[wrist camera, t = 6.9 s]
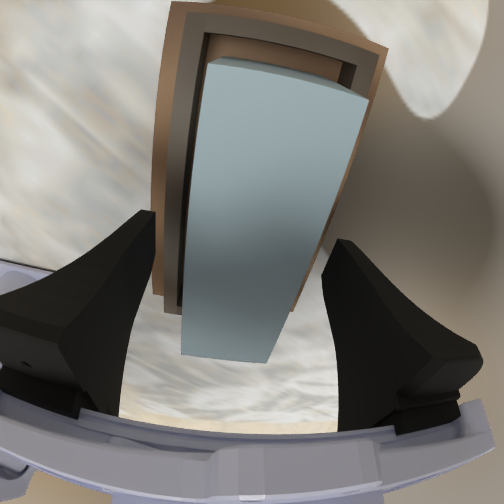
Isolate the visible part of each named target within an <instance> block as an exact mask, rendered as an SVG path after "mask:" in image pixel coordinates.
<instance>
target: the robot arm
mask: <svg viewBox="0 0 504 504" xmlns="http://www.w3.org/2000/svg"><path fill="white" fill-rule="evenodd" d="M155 254H156V212H155V211H147V210H140V211H139V212H137V213H136V214H135V215H134V216H132V217H131V218H130V219H129V220H128V221H126V222H125V223H124V224H123V225H122V226H120V227H119V228H118V229H117V230H116V231H114V232H113V233H112V234H111V235H110V236H108V237H107V238H106V239H104V240H103V241H102V242H101V243H99V244H98V245H97V246H95V247H94V248H93V249H91V250H90V251H88V252H87V253H86V254H84V255H83V256H81V257H79V258H78V259H76V260H75V261H73V262H72V263H70V264H68V265H66V266H65V267H63V268H61V269H59V270H57V271H55V272H49V271H45V270H40V269H35V268H31V267H26V266H22V265H17V264H13V263H9V262H5V261H0V502H1V501H6V500H11V499H15V498H19V497H22V496H24V495H25V493H26V490H27V488H28V485H29V482H30V480H31V478H32V476H33V474H34V473H35V472H36V471H37V469H38V470H40V471H42V472H45V473H47V474H50V475H52V476H55V477H57V478H60V479H63V480H66V481H68V482H71V483H74V484H77V485H80V486H83V487H86V488H89V489H92V490H96V491H99V492H103V493H107V494H110V495H112V503H111V504H384V498H383V494H384V493H388V492H391V491H394V490H398V489H401V488H404V487H408V486H411V485H414V484H417V483H420V482H422V481H425V480H428V479H431V478H433V477H436V476H439V475H441V474H444V473H446V472H449V471H451V470H454V469H456V468H458V467H460V466H462V465H464V464H466V463H468V462H470V461H473V460H474V459H476V458H478V457H480V456H482V455H484V454H486V453H488V452H489V451H491V450H493V449H494V448H495V447H496V446H495V442H494V439H493V435H492V432H491V429H490V425H489V423H488V419H487V416H486V413H485V410H484V407H483V404H482V401H481V399H476V400H473V401H469V402H466V403H463V404H461V405H459V406H458V403H457V400H458V399H459V398H460V393H459V389H460V388H461V387H462V386H463V385H465V384H466V383H467V382H468V381H469V380H471V379H472V378H473V377H474V376H475V375H476V374H477V373H478V372H479V370H480V369H481V367H482V365H483V358H482V356H481V354H480V352H479V350H478V348H477V346H476V345H475V344H473V343H472V342H470V341H468V340H466V339H464V338H462V337H461V336H459V335H457V334H455V333H453V332H452V331H451V330H449V329H447V328H446V327H444V326H443V325H441V324H440V323H438V322H437V321H435V320H434V319H433V318H432V317H430V316H429V315H427V314H426V313H425V312H423V311H422V310H421V309H420V308H418V307H417V306H416V305H415V304H414V303H413V302H412V301H411V300H409V299H408V298H407V297H406V296H405V295H404V294H403V293H402V292H400V290H399V289H398V288H396V286H394V285H393V284H392V283H391V282H390V281H389V280H388V278H387V277H385V276H384V274H383V273H382V272H381V271H380V270H379V269H378V268H377V267H376V266H375V265H374V264H373V263H372V262H371V261H370V259H369V258H368V257H367V256H366V255H365V254H364V253H363V252H362V251H361V250H360V249H359V248H358V247H357V246H356V245H355V244H354V243H353V242H351V241H349V240H343V239H337V241H336V243H335V246H334V248H333V250H332V253H331V255H330V257H329V259H328V262H327V264H326V266H325V268H324V270H323V273H322V275H321V278H322V289H323V297H324V302H325V306H326V310H327V314H328V318H329V323H330V327H331V331H332V335H333V340H334V345H335V350H336V360H337V371H338V393H339V411H338V430H337V432H331V433H316V434H282V435H272V434H238V433H222V432H210V431H200V430H191V429H183V428H176V427H169V426H162V425H156V424H150V423H145V422H139V421H134V420H129V419H125V418H120V417H118V415H119V404H120V394H121V386H122V378H123V371H124V365H125V359H126V354H127V348H128V343H129V339H130V334H131V329H132V326H133V322H134V319H135V316H136V313H137V311H138V308H139V305H140V302H141V299H142V297H143V294H144V291H145V288H146V286H147V283H148V280H149V278H150V275H151V271H152V267H153V263H154V259H155Z"/></svg>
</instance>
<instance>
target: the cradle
mask: <svg viewBox="0 0 504 504" xmlns="http://www.w3.org/2000/svg"><path fill="white" fill-rule="evenodd" d="M388 49H389V48H386V47H384V46H382V45H379V44H377V43H374V42H372V41H369V40H366V39H364V38H361V37H358V36H356V35H353V34H350V33H347V32H344V31H341V30H337V29H335V28H332V27H328V26H325V25H321V24H318V23H315V22H311V21H307V20H303V19H299V18H295V17H291V16H286V15H282V14H277V13H273V12H268V11H262V10H257V9H250V8H244V7H237V6H229V5H220V4H211V3H198V2H178V1H171V6H170V12H169V17H168V22H167V28H166V34H165V40H164V46H163V53H162V60H161V67H160V75H159V84H158V93H157V102H156V113H155V125H154V139H153V155H152V179H151V211H155V212H156V254H155V259H154V263H153V267H152V287H153V294H155V295H161V296H164V312H165V313H171V314H178V315H182V301H183V280H184V263H185V248H186V235H187V222H188V211H189V200H190V190H191V180H192V171H193V162H194V154H195V146H196V138H197V130H198V123H199V116H200V109H201V102H202V96H203V89H204V83H205V77H206V71H207V66H208V63H210V62H212V61H214V60H216V59H218V58H221V57H223V56H229V57H236V58H243V59H249V60H255V61H260V62H265V63H270V64H275V65H280V66H285V67H289V68H293V69H298V70H302V71H306V72H309V73H313V74H317V75H321V76H323V77H325V78H327V79H329V80H331V81H334V82H336V83H338V84H340V85H342V86H344V87H346V88H348V89H349V90H351V91H353V92H355V93H357V94H359V95H361V96H363V97H364V98H366V99H368V100H369V102H368V105H367V108H366V112H365V115H364V118H363V121H362V124H361V127H360V130H359V133H358V136H357V139H356V142H355V145H354V148H353V151H352V154H351V157H350V160H349V162H348V165H347V168H346V171H345V174H344V176H343V179H342V182H341V185H340V188H339V190H338V193H337V196H336V198H335V201H334V204H333V206H332V209H331V212H330V214H329V217H328V220H327V222H326V225H325V227H324V230H323V232H322V235H321V238H320V240H319V243H318V245H317V248H316V250H315V253H314V255H313V258H312V260H311V262H310V265H309V267H308V270H307V272H306V275H305V277H304V279H303V282H302V284H301V287H300V289H299V291H298V294H297V296H296V298H295V301H294V303H293V305H292V308H291V310H290V312H293V310H294V308H295V305H296V303H297V301H298V299H299V296H300V294H301V292H302V289H303V287H304V285H305V282H306V280H307V278H308V275H309V273H310V271H311V268H312V266H313V264H314V261H315V259H316V256H317V254H318V251H319V249H320V247H321V244H322V242H323V239H324V236H325V234H326V232H327V229H328V226H329V224H330V221H331V219H332V216H333V214H334V211H335V209H336V206H337V203H338V201H339V198H340V195H341V193H342V190H343V187H344V184H345V182H346V179H347V176H348V174H349V171H350V168H351V165H352V162H353V160H354V157H355V154H356V151H357V148H358V145H359V142H360V140H361V137H362V134H363V131H364V128H365V125H366V122H367V119H368V116H369V112H370V109H371V106H372V103H373V100H374V97H375V93H376V90H377V87H378V83H379V80H380V77H381V74H382V70H383V67H384V63H385V60H386V56H387V53H388Z"/></svg>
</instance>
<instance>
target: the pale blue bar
mask: <svg viewBox="0 0 504 504" xmlns="http://www.w3.org/2000/svg"><path fill="white" fill-rule="evenodd" d="M368 102H369V100H368V99H366V98H364V97H363V96H361V95H359V94H357V93H355V92H353V91H351V90H349V89H348V88H346V87H344V86H342V85H340V84H338V83H336V82H334V81H331V80H329V79H327V78H325V77H323V76H321V75H317V74H313V73H309V72H306V71H302V70H298V69H293V68H289V67H285V66H280V65H275V64H270V63H265V62H260V61H255V60H249V59H243V58H236V57H229V56H223V57H221V58H218V59H216V60H214V61H212V62H210V63H208V66H207V71H206V77H205V83H204V89H203V96H202V102H201V109H200V116H199V123H198V130H197V138H196V146H195V154H194V162H193V171H192V180H191V190H190V200H189V211H188V222H187V235H186V248H185V263H184V280H183V301H182V331H181V355H189V356H196V357H204V358H212V359H221V360H230V361H241V362H252V363H265V364H266V363H267V361H268V359H269V356H270V354H271V352H272V350H273V348H274V346H275V343H276V341H277V339H278V337H279V335H280V332H281V330H282V328H283V326H284V323H285V321H286V319H287V317H288V314H289V312H290V310H291V308H292V305H293V303H294V301H295V298H296V296H297V294H298V291H299V289H300V287H301V284H302V282H303V279H304V277H305V275H306V272H307V270H308V267H309V265H310V262H311V260H312V258H313V255H314V253H315V250H316V248H317V245H318V243H319V240H320V238H321V235H322V232H323V230H324V227H325V225H326V222H327V220H328V217H329V214H330V212H331V209H332V206H333V204H334V201H335V198H336V196H337V193H338V190H339V188H340V185H341V182H342V179H343V176H344V174H345V171H346V168H347V165H348V162H349V160H350V157H351V154H352V151H353V148H354V145H355V142H356V139H357V136H358V133H359V130H360V127H361V124H362V121H363V118H364V115H365V112H366V108H367V105H368Z"/></svg>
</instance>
